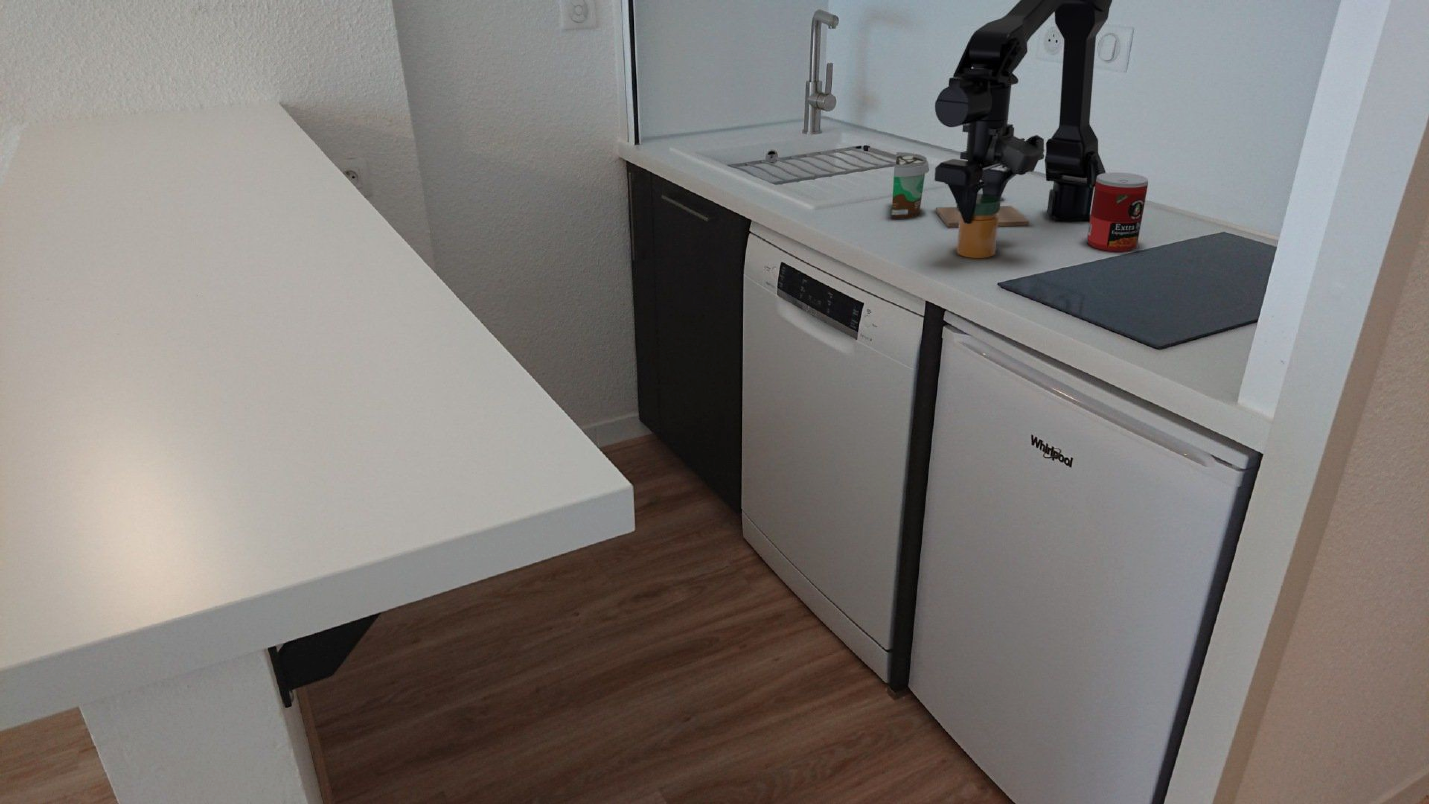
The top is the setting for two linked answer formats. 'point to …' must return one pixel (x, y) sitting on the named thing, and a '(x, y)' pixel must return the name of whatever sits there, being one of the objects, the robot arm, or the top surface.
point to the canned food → (1117, 211)
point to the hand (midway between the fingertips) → (978, 219)
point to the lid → (986, 205)
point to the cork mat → (1005, 214)
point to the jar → (978, 236)
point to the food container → (908, 184)
